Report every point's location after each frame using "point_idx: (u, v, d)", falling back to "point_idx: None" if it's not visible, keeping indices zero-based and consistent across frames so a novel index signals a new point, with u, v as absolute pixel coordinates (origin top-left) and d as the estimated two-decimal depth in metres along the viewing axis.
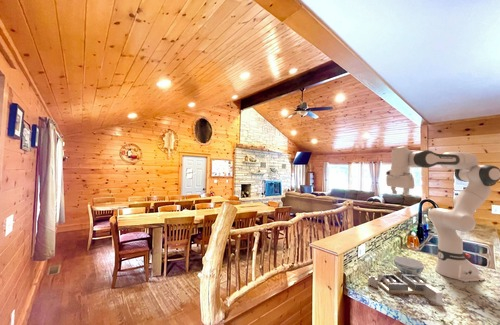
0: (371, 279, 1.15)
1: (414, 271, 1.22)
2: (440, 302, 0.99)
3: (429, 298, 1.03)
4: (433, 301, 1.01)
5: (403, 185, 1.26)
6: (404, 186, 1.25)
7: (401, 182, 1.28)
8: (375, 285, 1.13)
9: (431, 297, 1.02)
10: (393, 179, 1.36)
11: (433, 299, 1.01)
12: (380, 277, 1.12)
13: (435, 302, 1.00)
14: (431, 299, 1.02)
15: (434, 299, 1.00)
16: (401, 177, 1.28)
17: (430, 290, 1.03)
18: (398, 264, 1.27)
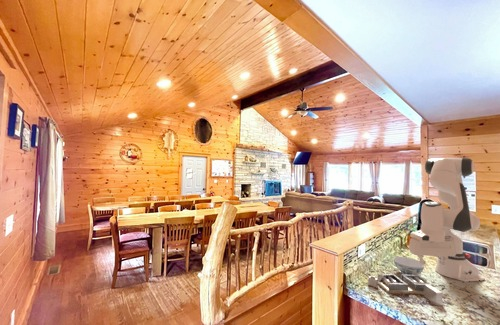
0: (371, 279, 1.15)
1: (414, 271, 1.22)
2: (440, 302, 0.99)
3: (429, 298, 1.03)
4: (433, 301, 1.01)
5: (449, 253, 1.01)
6: (450, 254, 1.01)
7: (444, 249, 1.02)
8: (375, 285, 1.13)
9: (431, 297, 1.02)
10: (427, 246, 1.02)
11: (433, 299, 1.01)
12: (380, 277, 1.12)
13: (435, 302, 1.00)
14: (431, 299, 1.02)
15: (434, 299, 1.00)
16: (444, 243, 1.02)
17: (430, 290, 1.03)
18: (398, 264, 1.27)
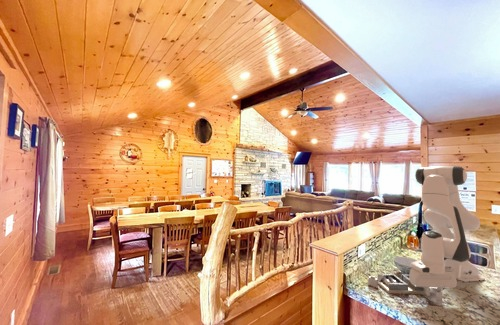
0: (371, 279, 1.15)
1: None
2: (440, 302, 0.99)
3: (429, 298, 1.03)
4: (433, 301, 1.01)
5: (449, 285, 1.01)
6: (450, 285, 1.01)
7: (445, 281, 1.01)
8: (375, 285, 1.13)
9: (431, 297, 1.02)
10: (428, 277, 1.02)
11: (433, 298, 1.01)
12: (380, 277, 1.12)
13: (435, 302, 1.00)
14: (431, 299, 1.02)
15: (434, 299, 1.00)
16: (445, 274, 1.01)
17: (430, 290, 1.03)
18: (398, 264, 1.27)
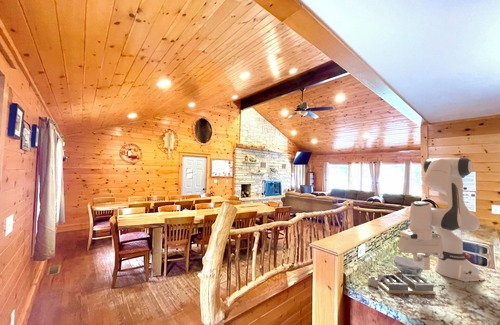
0: (371, 279, 1.15)
1: (414, 271, 1.22)
2: (427, 266, 1.04)
3: (417, 264, 1.08)
4: (421, 266, 1.06)
5: (436, 250, 1.06)
6: (437, 251, 1.06)
7: (432, 247, 1.06)
8: (375, 285, 1.13)
9: (419, 262, 1.07)
10: (416, 244, 1.06)
11: (421, 264, 1.05)
12: (380, 277, 1.12)
13: (423, 267, 1.04)
14: (419, 264, 1.07)
15: (422, 264, 1.05)
16: (432, 241, 1.06)
17: (418, 256, 1.07)
18: (398, 264, 1.27)
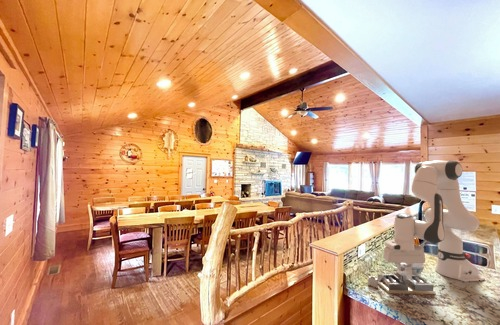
0: (371, 279, 1.15)
1: (414, 271, 1.22)
2: (410, 276, 1.10)
3: (401, 273, 1.14)
4: (404, 275, 1.12)
5: (418, 261, 1.12)
6: (419, 261, 1.12)
7: (414, 257, 1.12)
8: (375, 285, 1.13)
9: (402, 272, 1.13)
10: (399, 254, 1.13)
11: (404, 273, 1.12)
12: (380, 277, 1.12)
13: (405, 276, 1.11)
14: (402, 274, 1.13)
15: (404, 273, 1.12)
16: (414, 251, 1.12)
17: (402, 266, 1.14)
18: None
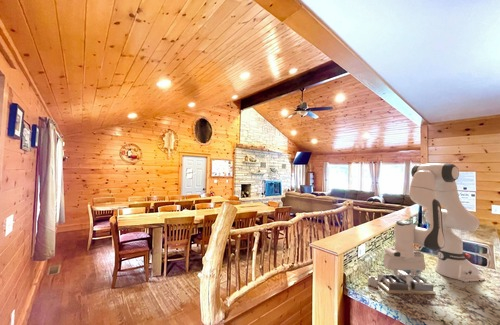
0: (371, 279, 1.15)
1: None
2: (410, 285, 1.10)
3: None
4: None
5: (418, 268, 1.12)
6: (419, 268, 1.12)
7: (414, 264, 1.12)
8: (375, 285, 1.13)
9: None
10: (399, 261, 1.13)
11: None
12: (380, 277, 1.12)
13: None
14: None
15: None
16: (414, 258, 1.12)
17: (402, 275, 1.14)
18: None
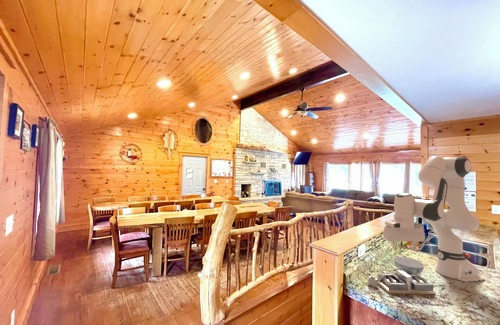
0: (371, 279, 1.15)
1: (414, 271, 1.22)
2: (410, 285, 1.10)
3: None
4: None
5: (418, 239, 1.13)
6: (419, 239, 1.13)
7: (414, 235, 1.13)
8: (375, 285, 1.13)
9: None
10: (399, 233, 1.13)
11: None
12: (380, 277, 1.12)
13: None
14: None
15: None
16: (414, 230, 1.13)
17: (402, 275, 1.14)
18: (398, 264, 1.27)
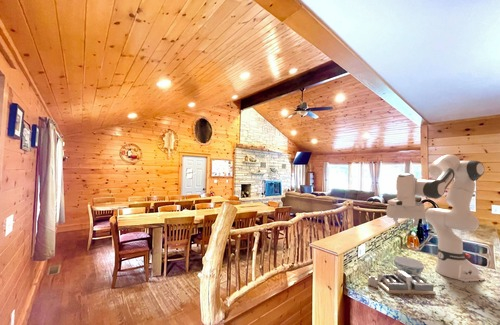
0: (371, 279, 1.15)
1: (414, 271, 1.22)
2: (410, 285, 1.10)
3: None
4: None
5: (419, 216, 1.20)
6: (420, 217, 1.20)
7: (415, 213, 1.20)
8: (375, 285, 1.13)
9: None
10: (401, 210, 1.20)
11: None
12: (380, 277, 1.12)
13: None
14: None
15: None
16: (415, 207, 1.20)
17: (402, 275, 1.14)
18: (398, 264, 1.27)
